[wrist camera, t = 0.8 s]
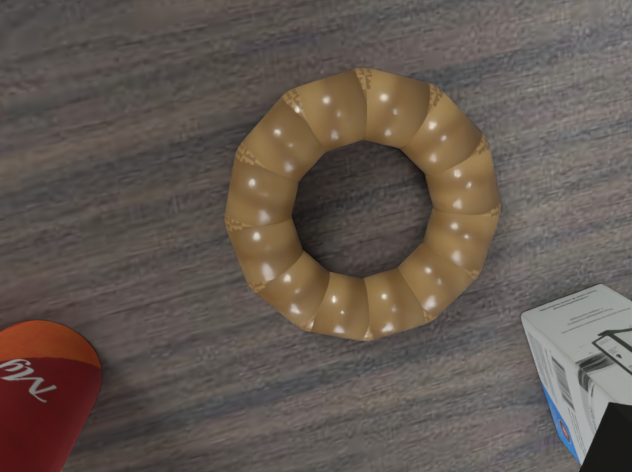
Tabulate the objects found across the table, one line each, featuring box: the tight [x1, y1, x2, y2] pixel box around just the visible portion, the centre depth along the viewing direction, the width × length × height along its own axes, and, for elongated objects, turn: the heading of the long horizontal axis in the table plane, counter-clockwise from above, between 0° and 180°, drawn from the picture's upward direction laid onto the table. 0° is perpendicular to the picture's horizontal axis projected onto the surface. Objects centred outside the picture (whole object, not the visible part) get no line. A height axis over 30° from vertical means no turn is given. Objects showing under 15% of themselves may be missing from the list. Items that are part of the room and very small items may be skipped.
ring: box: [224, 67, 502, 341], centre depth 23 cm, size 12×12×3 cm
